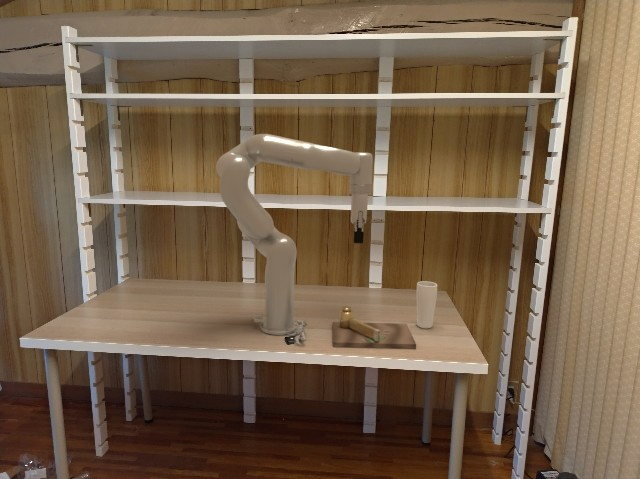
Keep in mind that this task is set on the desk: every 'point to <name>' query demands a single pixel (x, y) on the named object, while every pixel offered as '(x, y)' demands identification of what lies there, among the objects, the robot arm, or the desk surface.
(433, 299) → the drinking glass
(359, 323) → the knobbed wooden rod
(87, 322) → the desk surface
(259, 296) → the desk surface
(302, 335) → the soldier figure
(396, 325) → the wooden cutting board
